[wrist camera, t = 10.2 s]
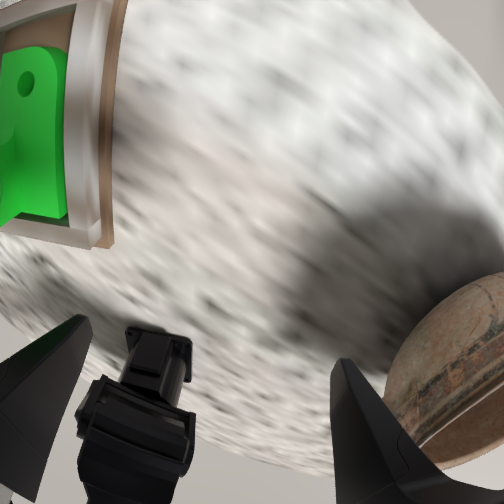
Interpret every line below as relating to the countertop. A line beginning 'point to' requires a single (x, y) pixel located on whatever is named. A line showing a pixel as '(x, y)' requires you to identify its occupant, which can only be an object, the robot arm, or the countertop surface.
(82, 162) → the keyed nest
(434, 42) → the countertop surface
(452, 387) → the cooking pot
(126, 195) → the countertop surface
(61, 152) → the mechanical part
